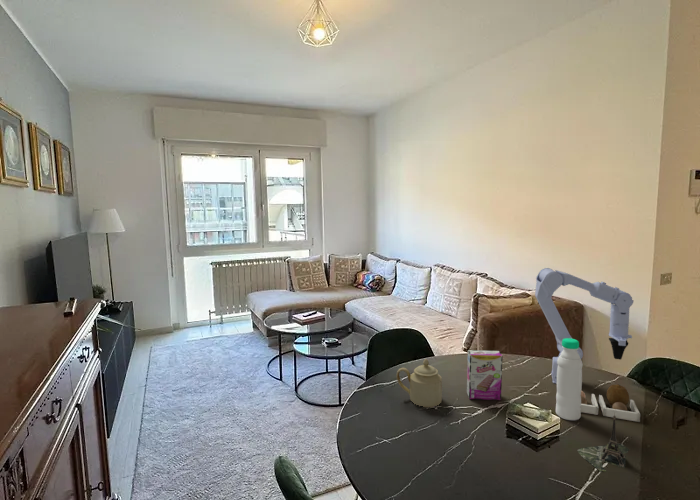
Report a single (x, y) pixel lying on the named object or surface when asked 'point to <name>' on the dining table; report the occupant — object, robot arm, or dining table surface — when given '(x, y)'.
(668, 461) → the dining table surface
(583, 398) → the walnut ball
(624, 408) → the walnut ball
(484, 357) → the candy bar box
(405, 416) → the dining table surface
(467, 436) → the dining table surface
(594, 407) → the trough left
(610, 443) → the eiffel tower figurine
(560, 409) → the water bottle
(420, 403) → the sugar bowl
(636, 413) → the trough right
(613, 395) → the fruit
